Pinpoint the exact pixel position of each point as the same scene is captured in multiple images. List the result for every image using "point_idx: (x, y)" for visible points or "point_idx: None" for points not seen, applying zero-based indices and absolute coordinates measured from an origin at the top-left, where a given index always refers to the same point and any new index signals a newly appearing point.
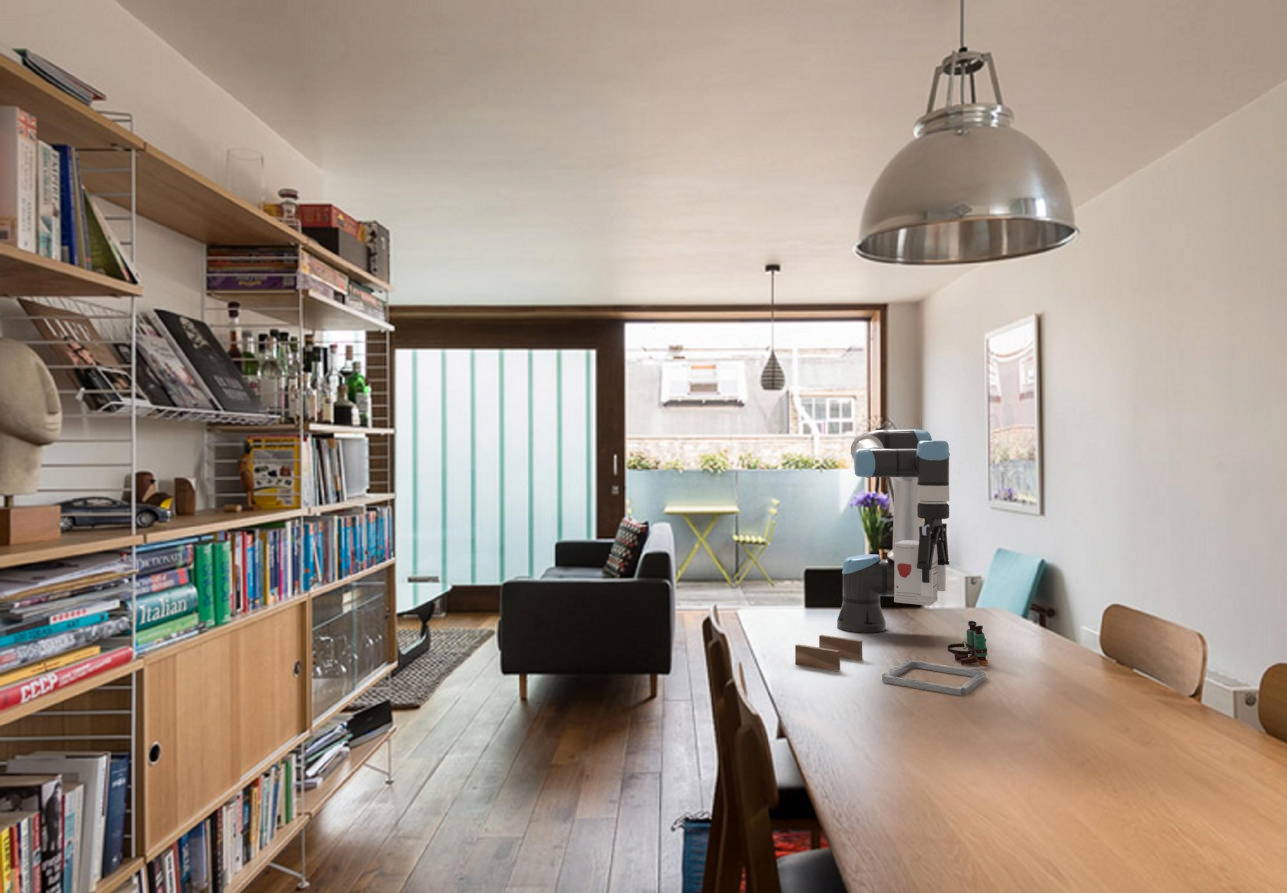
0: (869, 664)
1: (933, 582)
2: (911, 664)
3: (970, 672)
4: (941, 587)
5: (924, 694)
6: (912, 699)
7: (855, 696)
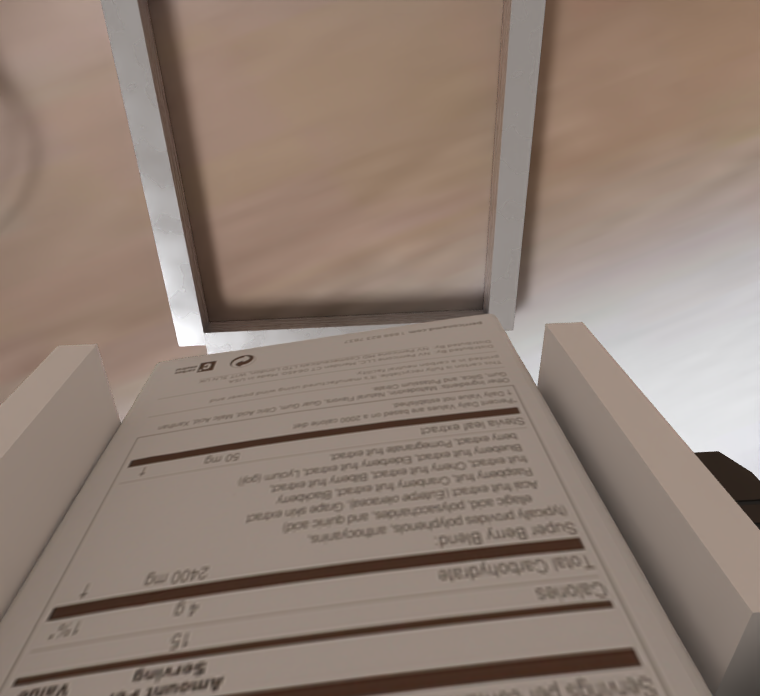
0: None
1: (373, 466)
2: (216, 328)
3: (149, 50)
4: (89, 403)
5: (592, 124)
6: (690, 137)
7: (734, 318)
